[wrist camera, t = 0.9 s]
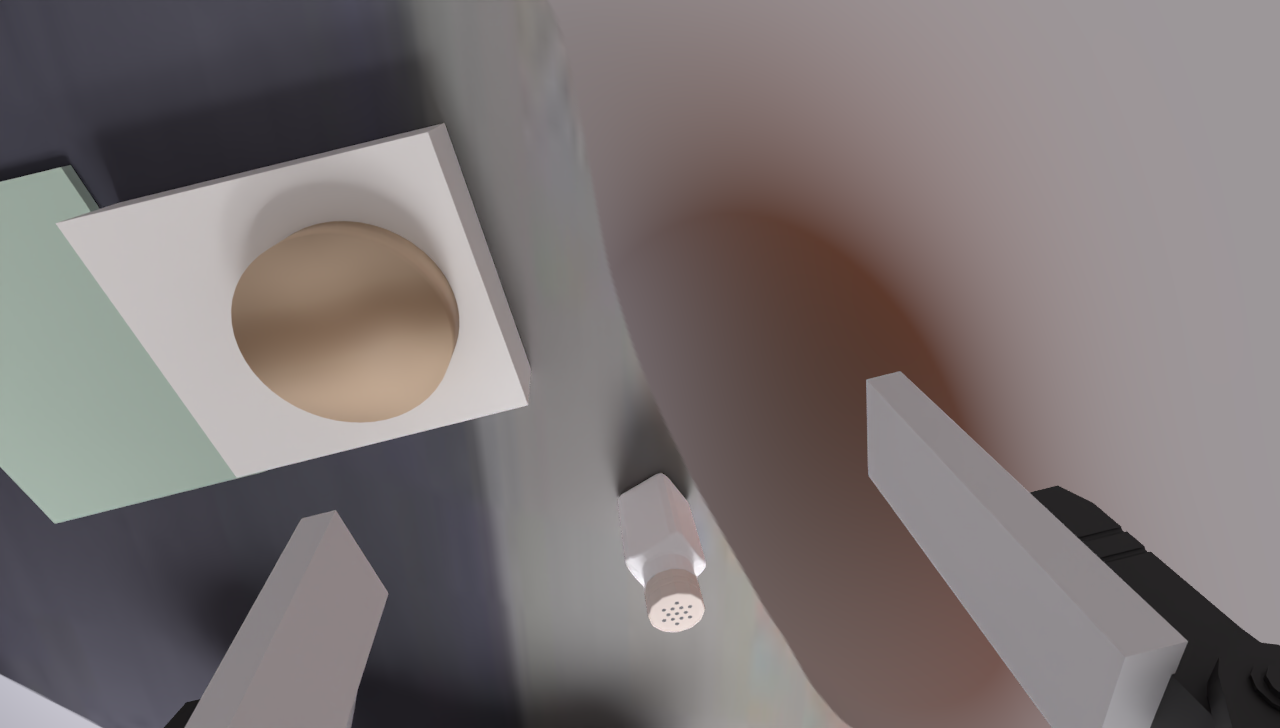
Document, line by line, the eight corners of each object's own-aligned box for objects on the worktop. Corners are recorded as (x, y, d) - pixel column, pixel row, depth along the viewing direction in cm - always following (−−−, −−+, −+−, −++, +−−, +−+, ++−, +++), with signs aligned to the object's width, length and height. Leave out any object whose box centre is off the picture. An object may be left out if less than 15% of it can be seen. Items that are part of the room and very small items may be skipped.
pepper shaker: (643, 529, 42) (664, 647, 33) (612, 495, 40) (627, 611, 31) (691, 502, 41) (725, 616, 33) (662, 466, 39) (690, 576, 31)
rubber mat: (270, 465, 35) (266, 471, 35) (62, 516, 35) (54, 523, 35) (70, 164, 27) (60, 167, 26) (-206, 232, 27) (-221, 235, 26)
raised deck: (531, 370, 34) (528, 405, 31) (269, 435, 34) (236, 477, 31) (444, 122, 28) (427, 132, 24) (119, 202, 28) (55, 223, 24)
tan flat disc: (484, 373, 30) (479, 396, 28) (313, 415, 30) (294, 441, 28) (417, 199, 26) (404, 211, 23) (217, 247, 25) (186, 264, 23)
